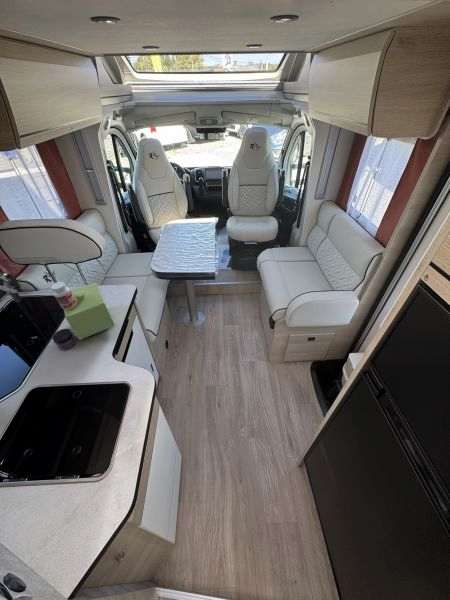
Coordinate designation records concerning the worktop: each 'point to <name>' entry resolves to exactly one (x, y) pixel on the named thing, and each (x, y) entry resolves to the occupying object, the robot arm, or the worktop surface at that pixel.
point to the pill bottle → (63, 295)
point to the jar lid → (62, 336)
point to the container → (88, 312)
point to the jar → (67, 343)
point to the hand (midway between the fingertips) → (7, 309)
